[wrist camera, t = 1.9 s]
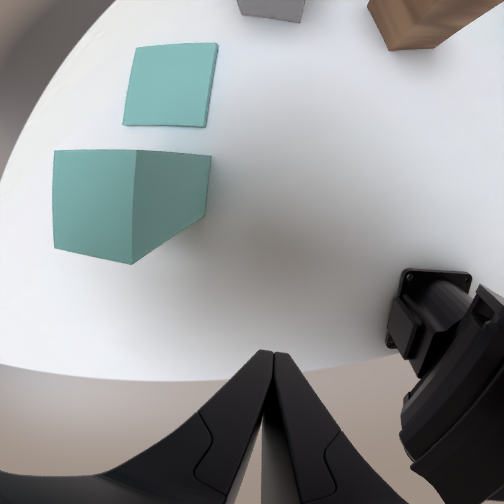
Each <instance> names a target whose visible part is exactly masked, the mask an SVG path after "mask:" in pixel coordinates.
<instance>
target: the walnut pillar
mask: <svg viewBox="0 0 504 504" xmlns="http://www.w3.org/2000/svg"><path fill="white" fill-rule="evenodd" d="M503 1H504V0H370V1H369V3H368V5H367V8H368V9H369V11H370V13H371V15H372V17H373V19H374V21H375V23H376V25H377V27H378V29H379V31H380V33H381V35H382V37H383V39H384V41H385V43H386V45H387V48H388V50H389V51H395V50H408V49H430V48H435V47H436V46H438V45H439V44H441V43H442V42H443V41H445V40H446V39H448V38H449V37H450V36H452V35H453V34H455V33H456V32H458V31H459V30H461V29H462V28H463V27H465V26H466V25H468V24H469V23H471V22H472V21H474V20H475V19H477V18H478V17H480V16H481V15H483V14H484V13H486V12H488V11H489V10H491V9H492V8H494V7H495V6H497V5H498V4H500V3H502V2H503Z"/></svg>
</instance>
